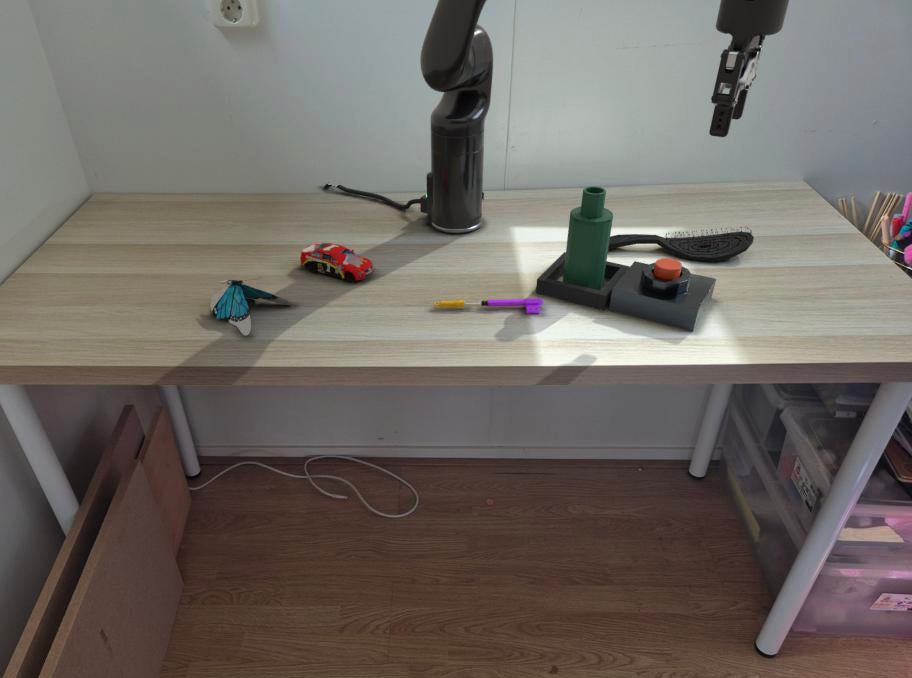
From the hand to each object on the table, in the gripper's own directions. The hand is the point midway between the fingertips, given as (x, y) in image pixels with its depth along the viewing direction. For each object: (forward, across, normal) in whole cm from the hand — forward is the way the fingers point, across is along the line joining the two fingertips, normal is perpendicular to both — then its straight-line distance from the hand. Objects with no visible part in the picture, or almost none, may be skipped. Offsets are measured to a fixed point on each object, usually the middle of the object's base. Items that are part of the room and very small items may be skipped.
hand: (725, 126), depth 93 cm
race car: (+24, +20, -51) cm, 61 cm away
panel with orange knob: (+24, +7, -2) cm, 25 cm away
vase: (+24, +7, -14) cm, 29 cm away
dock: (+24, +7, -14) cm, 29 cm away
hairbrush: (+24, -12, -6) cm, 28 cm away
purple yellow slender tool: (+23, +16, -17) cm, 33 cm away
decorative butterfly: (+24, +38, -56) cm, 72 cm away
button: (+19, +7, -2) cm, 20 cm away
